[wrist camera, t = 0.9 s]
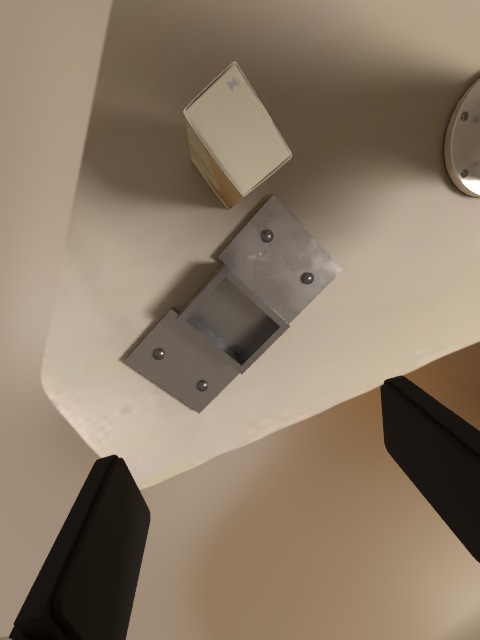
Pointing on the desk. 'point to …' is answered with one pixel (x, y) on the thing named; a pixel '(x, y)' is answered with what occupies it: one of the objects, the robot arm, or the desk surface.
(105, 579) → the robot arm
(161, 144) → the desk surface
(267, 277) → the hinge base
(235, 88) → the skincare box
